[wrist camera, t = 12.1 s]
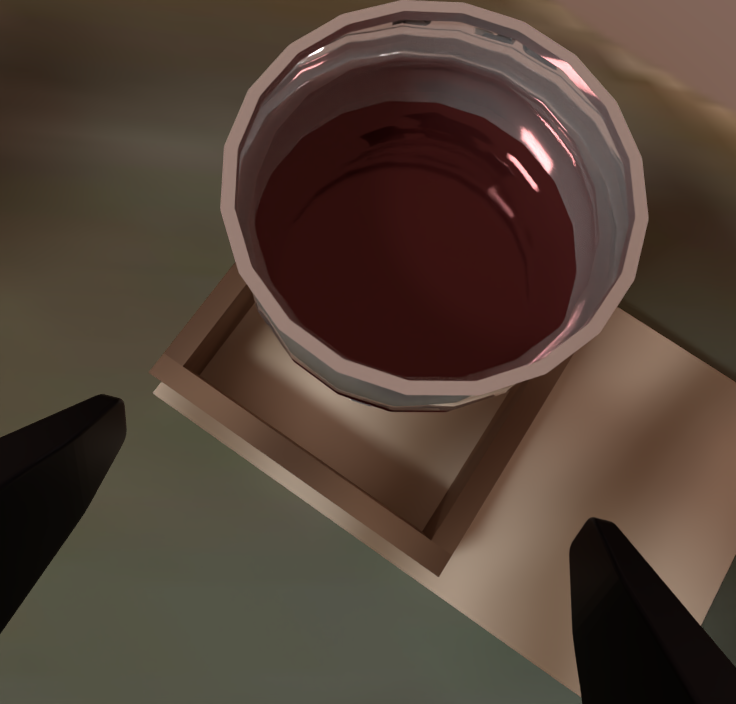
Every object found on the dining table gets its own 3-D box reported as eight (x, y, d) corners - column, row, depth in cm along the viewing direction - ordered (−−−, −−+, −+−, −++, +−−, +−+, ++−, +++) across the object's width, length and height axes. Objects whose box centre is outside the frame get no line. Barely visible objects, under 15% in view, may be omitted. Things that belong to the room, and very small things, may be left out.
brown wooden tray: (778, 424, 21) (849, 420, 18) (628, 726, 18) (682, 778, 15) (351, 151, 22) (352, 105, 19) (162, 396, 20) (130, 385, 17)
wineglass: (478, 274, 20) (662, 34, 9) (457, 445, 19) (640, 438, 7) (310, 246, 20) (263, -36, 9) (277, 416, 19) (168, 359, 7)
